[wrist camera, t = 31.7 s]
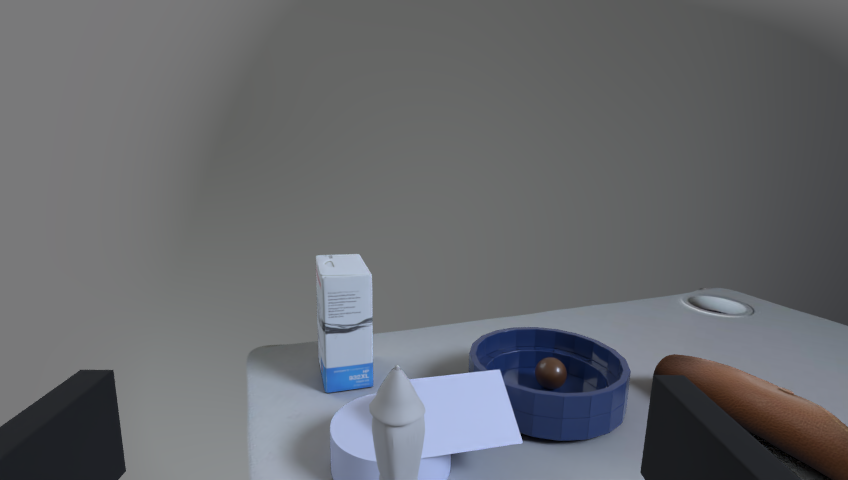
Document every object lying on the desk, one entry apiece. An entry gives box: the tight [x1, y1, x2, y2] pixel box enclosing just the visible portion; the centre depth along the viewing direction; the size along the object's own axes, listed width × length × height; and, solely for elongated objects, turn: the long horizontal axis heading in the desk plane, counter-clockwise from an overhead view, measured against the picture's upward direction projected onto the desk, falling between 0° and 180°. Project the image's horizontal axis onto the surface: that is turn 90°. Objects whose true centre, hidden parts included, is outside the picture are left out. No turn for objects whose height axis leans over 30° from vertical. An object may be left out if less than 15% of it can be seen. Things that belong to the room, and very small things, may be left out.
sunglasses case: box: [653, 354, 848, 480], centre depth 42 cm, size 18×7×7 cm
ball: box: [535, 357, 567, 389], centre depth 47 cm, size 3×3×3 cm
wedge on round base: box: [330, 369, 523, 480], centre depth 37 cm, size 9×7×13 cm
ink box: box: [316, 254, 373, 393], centre depth 50 cm, size 8×5×12 cm, turn 16°
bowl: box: [469, 327, 631, 441], centre depth 46 cm, size 14×14×4 cm
